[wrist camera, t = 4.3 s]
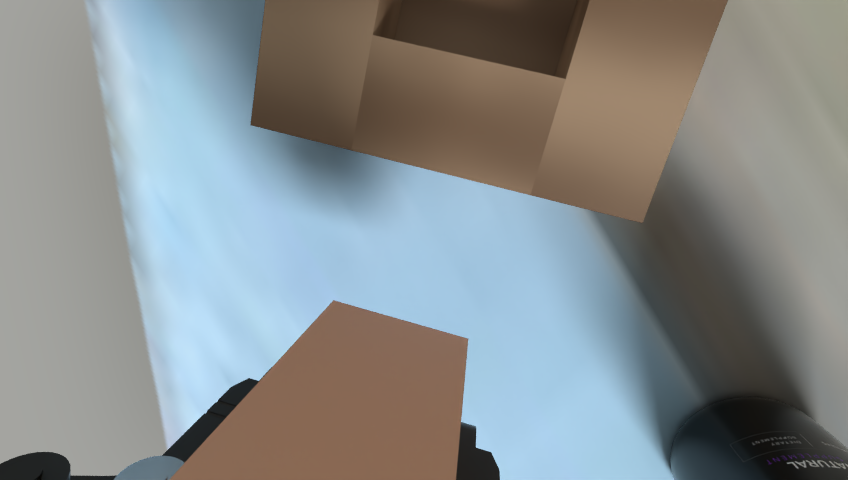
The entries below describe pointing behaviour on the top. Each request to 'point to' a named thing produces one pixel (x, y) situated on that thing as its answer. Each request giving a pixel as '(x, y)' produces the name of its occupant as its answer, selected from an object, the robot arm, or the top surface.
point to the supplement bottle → (756, 444)
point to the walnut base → (492, 88)
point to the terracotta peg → (346, 407)
